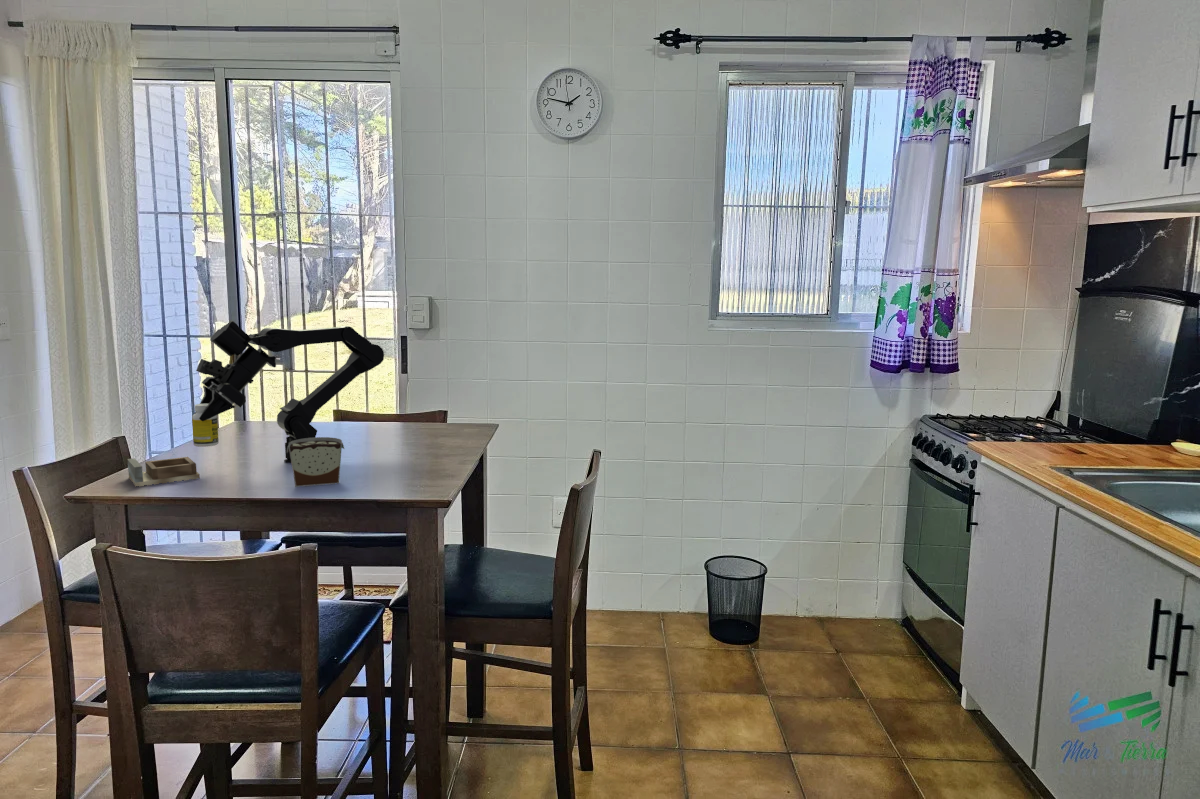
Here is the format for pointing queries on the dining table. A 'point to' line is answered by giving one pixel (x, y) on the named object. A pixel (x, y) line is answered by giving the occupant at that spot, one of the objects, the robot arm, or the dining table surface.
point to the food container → (315, 460)
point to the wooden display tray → (162, 471)
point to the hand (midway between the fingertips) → (198, 418)
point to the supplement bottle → (204, 428)
